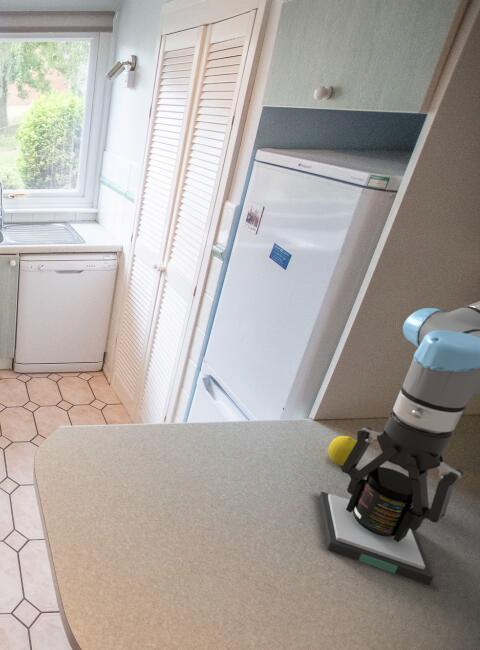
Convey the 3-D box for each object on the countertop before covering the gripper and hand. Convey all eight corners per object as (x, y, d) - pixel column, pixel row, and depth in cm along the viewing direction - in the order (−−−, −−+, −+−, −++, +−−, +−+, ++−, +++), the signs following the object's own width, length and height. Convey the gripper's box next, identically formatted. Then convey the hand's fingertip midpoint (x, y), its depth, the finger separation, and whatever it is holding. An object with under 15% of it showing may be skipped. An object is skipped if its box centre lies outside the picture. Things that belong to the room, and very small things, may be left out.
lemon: (350, 477, 100) (362, 448, 97) (320, 464, 104) (331, 436, 101) (357, 466, 103) (368, 438, 100) (328, 453, 107) (338, 426, 104)
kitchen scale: (405, 527, 88) (411, 515, 87) (428, 587, 77) (435, 574, 76) (317, 500, 94) (322, 488, 93) (326, 551, 83) (331, 539, 82)
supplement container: (408, 541, 80) (430, 497, 76) (364, 535, 82) (384, 491, 78) (383, 511, 86) (403, 469, 82) (343, 506, 88) (361, 464, 84)
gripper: (341, 397, 82) (306, 494, 91) (495, 465, 65) (434, 574, 74) (363, 386, 85) (327, 481, 94) (515, 448, 69) (454, 556, 77)
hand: (374, 522), depth 84 cm, fingers closed on supplement container, 7 cm apart
